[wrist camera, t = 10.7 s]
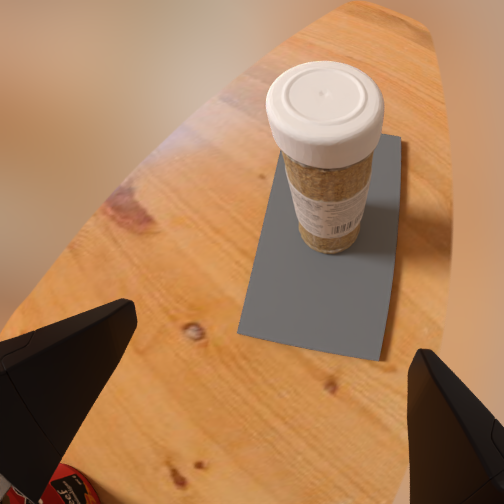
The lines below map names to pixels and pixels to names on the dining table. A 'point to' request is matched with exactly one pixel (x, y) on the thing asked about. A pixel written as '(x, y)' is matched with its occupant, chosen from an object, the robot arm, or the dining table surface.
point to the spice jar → (327, 146)
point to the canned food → (62, 489)
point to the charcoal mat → (327, 271)
